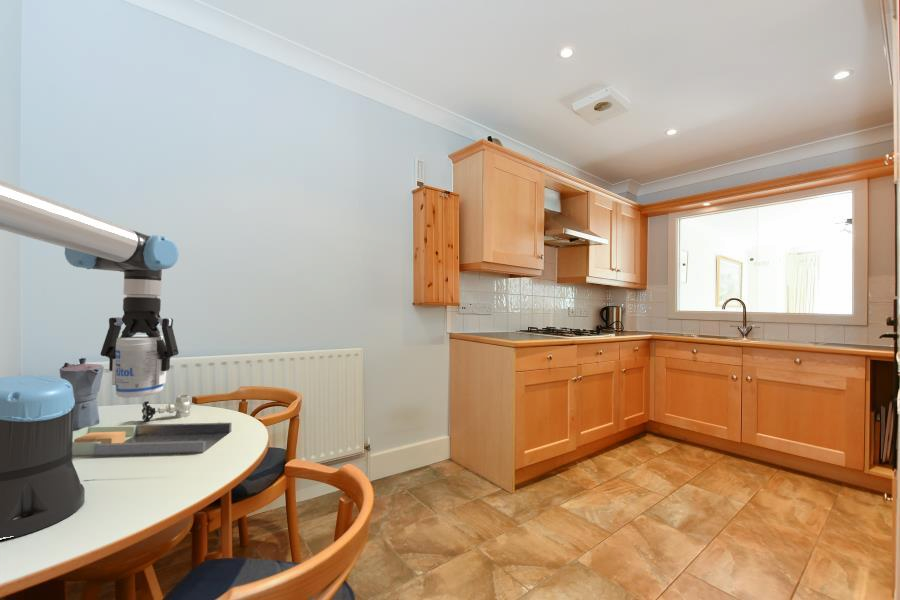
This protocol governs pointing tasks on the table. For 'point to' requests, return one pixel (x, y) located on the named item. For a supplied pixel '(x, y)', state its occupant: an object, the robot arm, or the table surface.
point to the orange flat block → (111, 437)
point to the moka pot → (84, 391)
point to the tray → (88, 447)
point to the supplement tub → (137, 366)
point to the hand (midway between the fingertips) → (139, 383)
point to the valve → (169, 408)
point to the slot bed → (167, 440)
